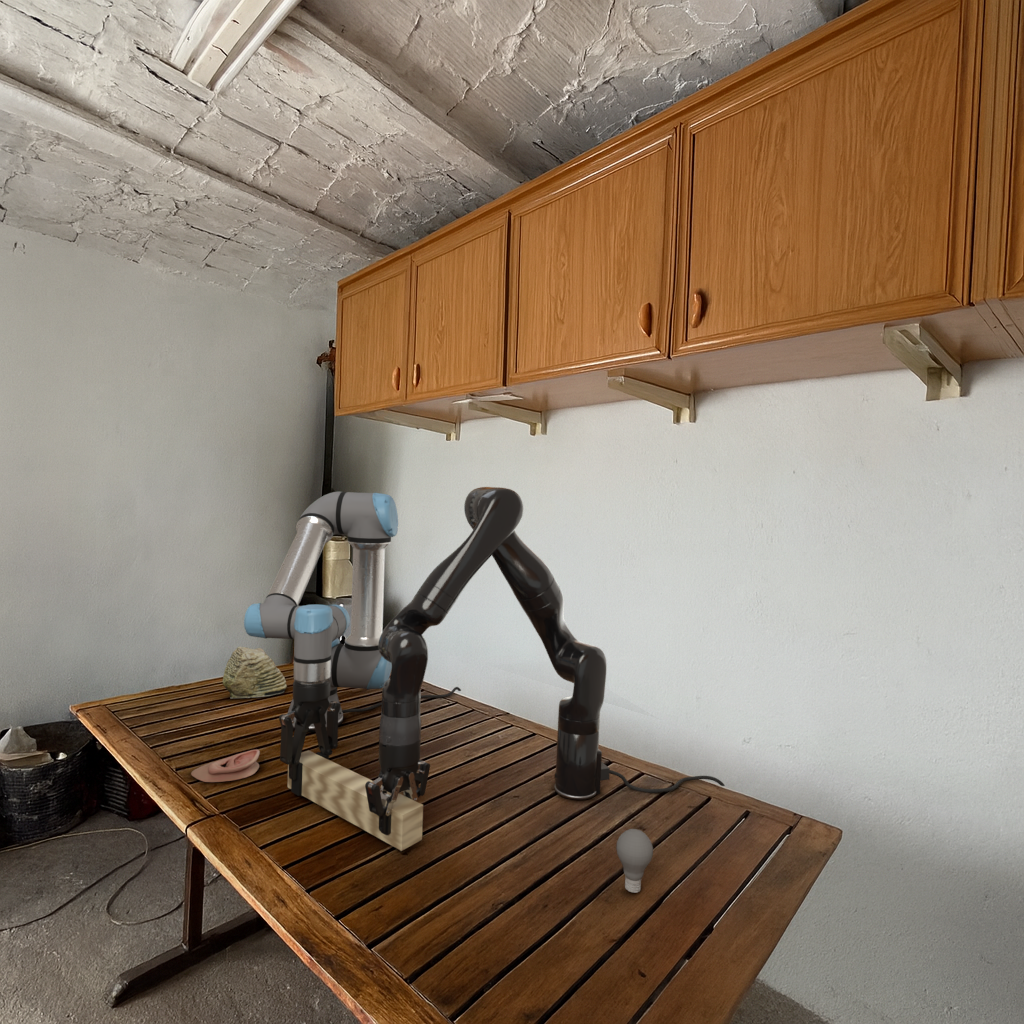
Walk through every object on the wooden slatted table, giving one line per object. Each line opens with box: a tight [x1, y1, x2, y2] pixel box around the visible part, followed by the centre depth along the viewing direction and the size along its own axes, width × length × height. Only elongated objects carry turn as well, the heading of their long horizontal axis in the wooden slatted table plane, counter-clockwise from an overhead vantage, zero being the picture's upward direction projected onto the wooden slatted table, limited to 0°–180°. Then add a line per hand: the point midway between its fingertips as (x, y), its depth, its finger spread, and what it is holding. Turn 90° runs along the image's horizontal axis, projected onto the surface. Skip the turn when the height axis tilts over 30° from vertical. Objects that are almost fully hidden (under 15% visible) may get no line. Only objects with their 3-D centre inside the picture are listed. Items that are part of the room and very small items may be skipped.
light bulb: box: [615, 828, 654, 894], centre depth 106 cm, size 6×6×10 cm
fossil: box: [222, 646, 288, 699], centre depth 198 cm, size 9×18×15 cm, turn 132°
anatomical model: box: [190, 748, 261, 783], centre depth 143 cm, size 13×4×12 cm
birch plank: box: [287, 749, 424, 852], centre depth 125 cm, size 36×5×6 cm, turn 52°
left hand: (308, 788), depth 134 cm, fingers closed on birch plank, 5 cm apart
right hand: (397, 826), depth 116 cm, fingers closed on birch plank, 5 cm apart
